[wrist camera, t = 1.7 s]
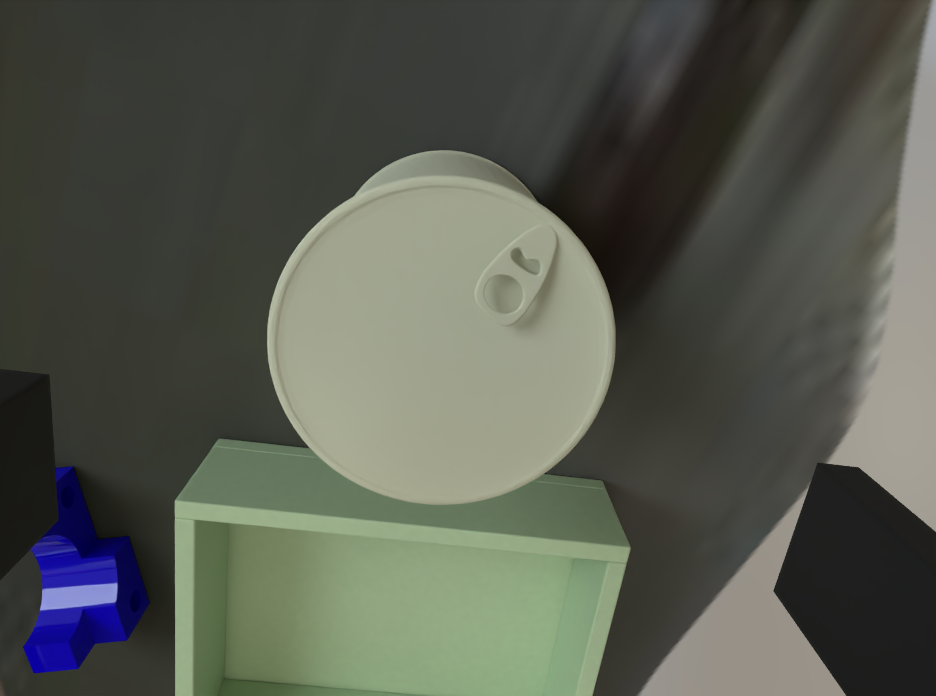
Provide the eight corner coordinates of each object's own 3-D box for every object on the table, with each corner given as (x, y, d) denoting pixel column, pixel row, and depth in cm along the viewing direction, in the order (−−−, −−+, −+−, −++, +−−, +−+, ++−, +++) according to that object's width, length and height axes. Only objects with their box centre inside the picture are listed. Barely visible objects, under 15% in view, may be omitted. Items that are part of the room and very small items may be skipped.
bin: (218, 437, 30) (173, 500, 26) (602, 480, 32) (631, 547, 27) (213, 676, 35) (174, 769, 30) (549, 704, 36) (566, 798, 31)
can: (597, 246, 28) (699, 333, 17) (461, 403, 30) (469, 574, 19) (425, 100, 26) (408, 87, 15) (292, 280, 28) (187, 389, 17)
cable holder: (149, 603, 33) (111, 665, 30) (80, 610, 33) (33, 673, 30) (105, 463, 31) (57, 511, 27) (30, 470, 31) (-29, 520, 27)
